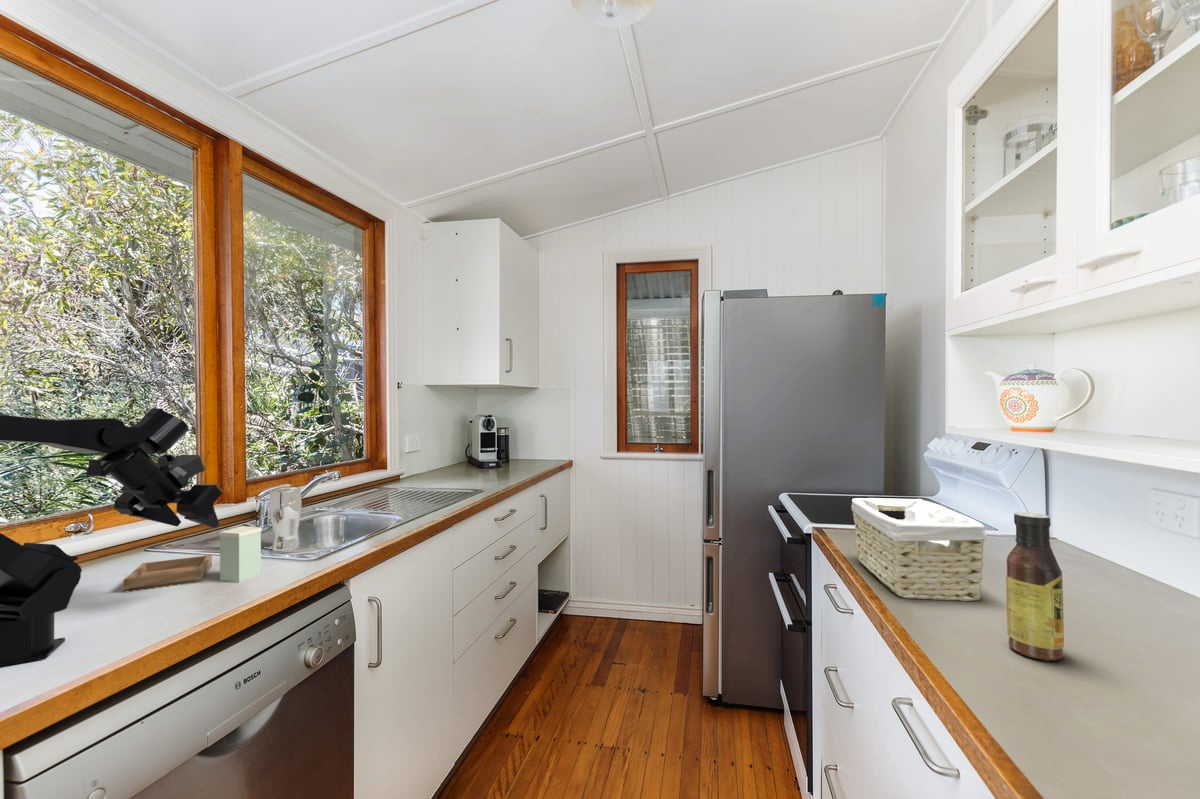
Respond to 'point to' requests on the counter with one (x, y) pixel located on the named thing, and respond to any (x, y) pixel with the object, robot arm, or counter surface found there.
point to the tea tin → (240, 553)
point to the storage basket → (920, 548)
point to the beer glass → (285, 517)
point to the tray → (168, 573)
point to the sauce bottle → (1034, 591)
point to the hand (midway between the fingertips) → (197, 525)
